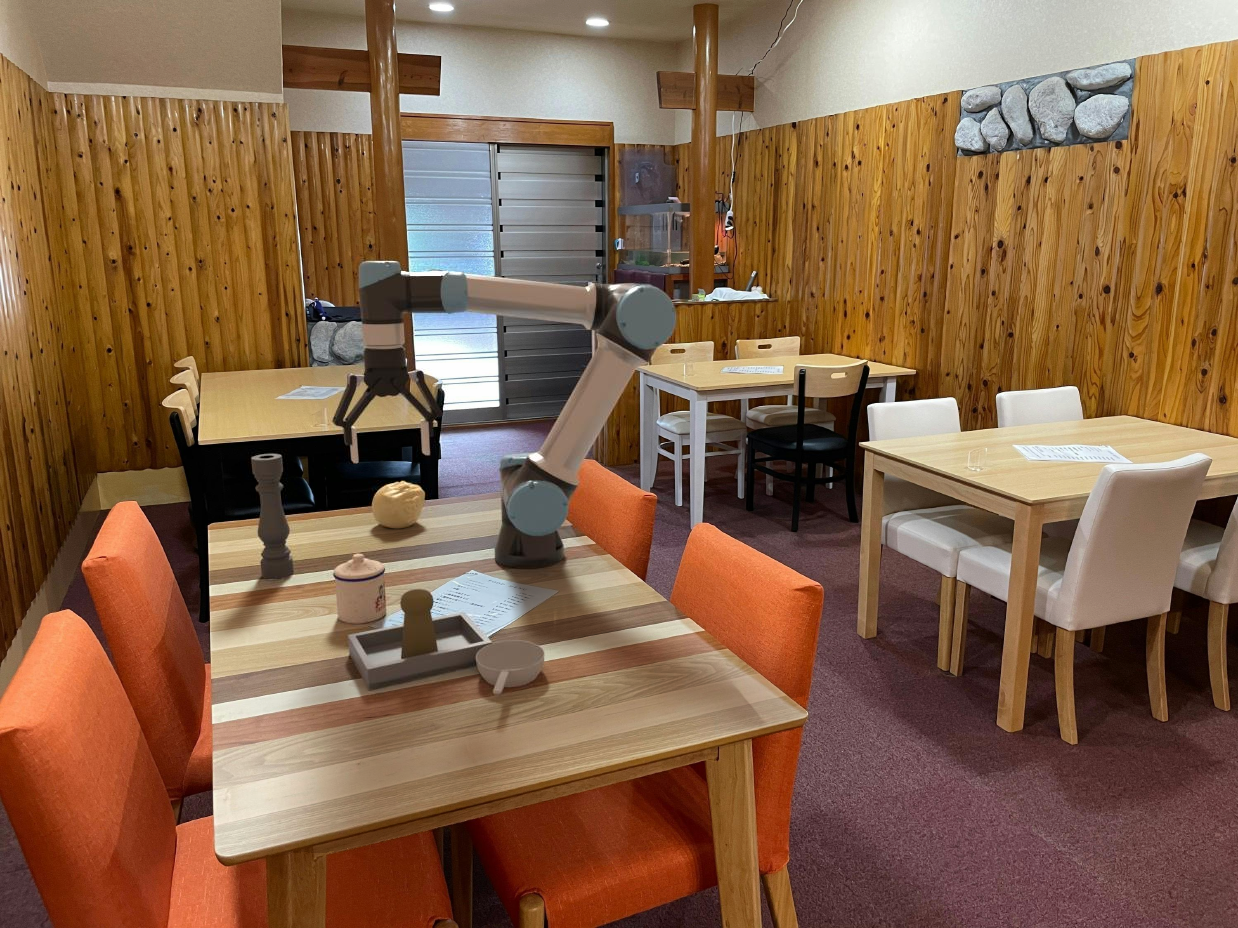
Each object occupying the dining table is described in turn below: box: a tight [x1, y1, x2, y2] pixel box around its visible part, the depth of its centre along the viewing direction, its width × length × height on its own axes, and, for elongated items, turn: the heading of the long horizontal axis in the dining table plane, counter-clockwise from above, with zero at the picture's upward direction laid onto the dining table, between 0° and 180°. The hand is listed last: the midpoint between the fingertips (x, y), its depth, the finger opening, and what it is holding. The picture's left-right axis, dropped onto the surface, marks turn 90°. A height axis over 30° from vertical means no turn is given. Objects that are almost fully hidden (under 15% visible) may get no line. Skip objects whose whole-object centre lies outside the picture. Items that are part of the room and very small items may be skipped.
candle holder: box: [250, 453, 295, 580], centre depth 179 cm, size 6×6×25 cm
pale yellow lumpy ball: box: [371, 480, 426, 529], centre depth 214 cm, size 12×12×11 cm
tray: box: [347, 611, 493, 691], centre depth 145 cm, size 20×14×4 cm
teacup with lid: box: [332, 553, 387, 625], centre depth 162 cm, size 12×9×12 cm
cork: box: [399, 588, 438, 659], centre depth 143 cm, size 6×6×11 cm
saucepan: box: [476, 639, 545, 695], centre depth 136 cm, size 11×18×4 cm, turn 178°
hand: (391, 457), depth 168 cm, fingers open, 13 cm apart
